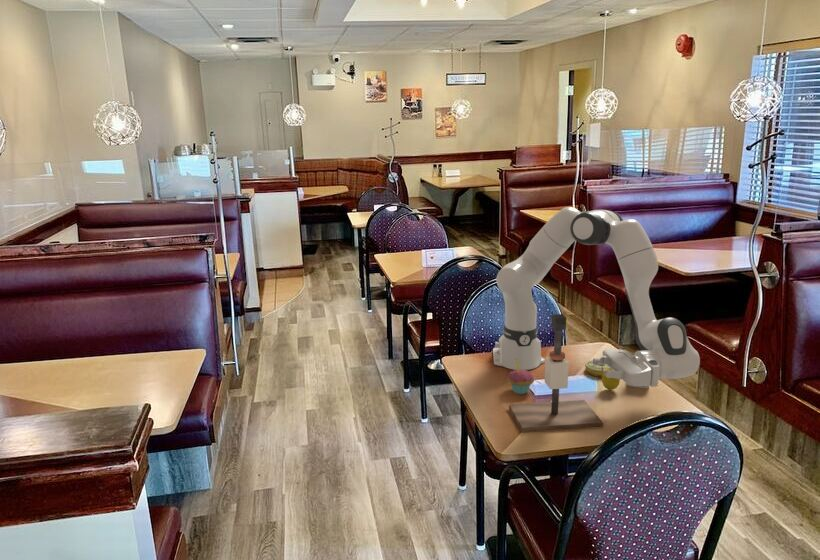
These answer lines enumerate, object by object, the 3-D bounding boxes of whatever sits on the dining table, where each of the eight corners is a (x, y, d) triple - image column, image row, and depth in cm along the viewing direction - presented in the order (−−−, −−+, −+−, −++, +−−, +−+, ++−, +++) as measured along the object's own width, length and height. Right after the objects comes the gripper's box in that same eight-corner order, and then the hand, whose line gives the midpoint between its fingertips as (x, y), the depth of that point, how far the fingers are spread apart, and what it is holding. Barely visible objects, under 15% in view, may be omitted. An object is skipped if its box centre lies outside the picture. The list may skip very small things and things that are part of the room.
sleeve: (544, 381, 190) (545, 357, 188) (561, 380, 190) (562, 356, 188) (550, 389, 185) (551, 363, 183) (567, 388, 185) (568, 362, 183)
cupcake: (518, 398, 203) (519, 363, 200) (501, 389, 210) (502, 355, 207) (538, 392, 208) (540, 358, 204) (521, 383, 215) (522, 350, 212)
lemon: (619, 394, 205) (621, 371, 203) (601, 393, 206) (603, 370, 204) (617, 387, 210) (619, 365, 208) (600, 386, 211) (601, 364, 209)
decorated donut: (599, 364, 230) (600, 355, 229) (623, 374, 221) (624, 364, 220) (578, 370, 224) (579, 360, 223) (602, 381, 216) (603, 370, 215)
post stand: (509, 408, 196) (511, 310, 188) (584, 404, 199) (589, 306, 190) (522, 432, 182) (525, 326, 174) (602, 427, 184) (609, 322, 176)
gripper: (630, 343, 198) (587, 345, 197) (661, 368, 178) (614, 371, 177) (628, 362, 200) (586, 364, 198) (659, 389, 180) (612, 392, 179)
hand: (599, 367), depth 187 cm, fingers open, 8 cm apart
